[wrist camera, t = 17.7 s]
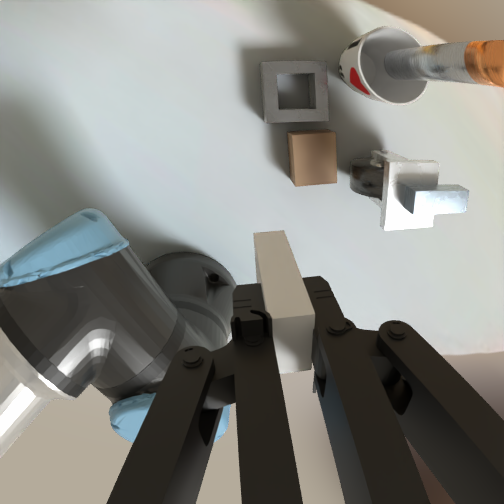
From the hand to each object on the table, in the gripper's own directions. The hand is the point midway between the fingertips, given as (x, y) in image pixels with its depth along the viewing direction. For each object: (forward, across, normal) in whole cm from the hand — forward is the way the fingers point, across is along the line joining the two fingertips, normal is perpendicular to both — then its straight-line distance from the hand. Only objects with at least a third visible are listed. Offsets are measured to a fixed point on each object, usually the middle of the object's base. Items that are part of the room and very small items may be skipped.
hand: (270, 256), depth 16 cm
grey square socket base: (+24, +6, +8) cm, 26 cm away
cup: (+25, +14, +11) cm, 31 cm away
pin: (+14, +15, +11) cm, 23 cm away
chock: (+25, +8, 0) cm, 26 cm away
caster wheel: (+24, +16, -2) cm, 29 cm away
